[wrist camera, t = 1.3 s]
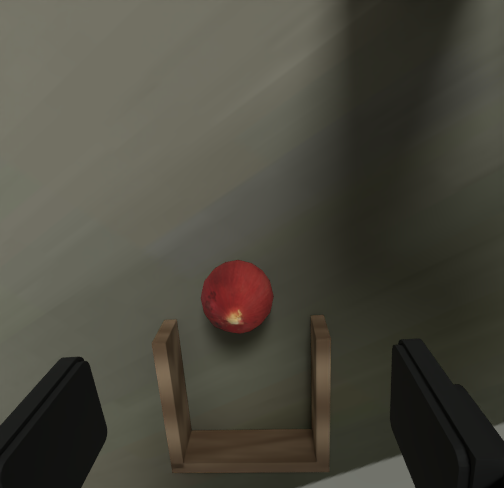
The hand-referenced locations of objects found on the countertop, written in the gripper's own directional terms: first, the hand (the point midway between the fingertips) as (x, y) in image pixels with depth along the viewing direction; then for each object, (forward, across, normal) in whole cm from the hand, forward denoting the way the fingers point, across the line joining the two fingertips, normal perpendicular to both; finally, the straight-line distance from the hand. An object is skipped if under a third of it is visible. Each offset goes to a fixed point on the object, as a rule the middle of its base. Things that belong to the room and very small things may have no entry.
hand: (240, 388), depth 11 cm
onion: (+21, +2, +6) cm, 22 cm away
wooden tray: (+21, +3, +17) cm, 27 cm away
